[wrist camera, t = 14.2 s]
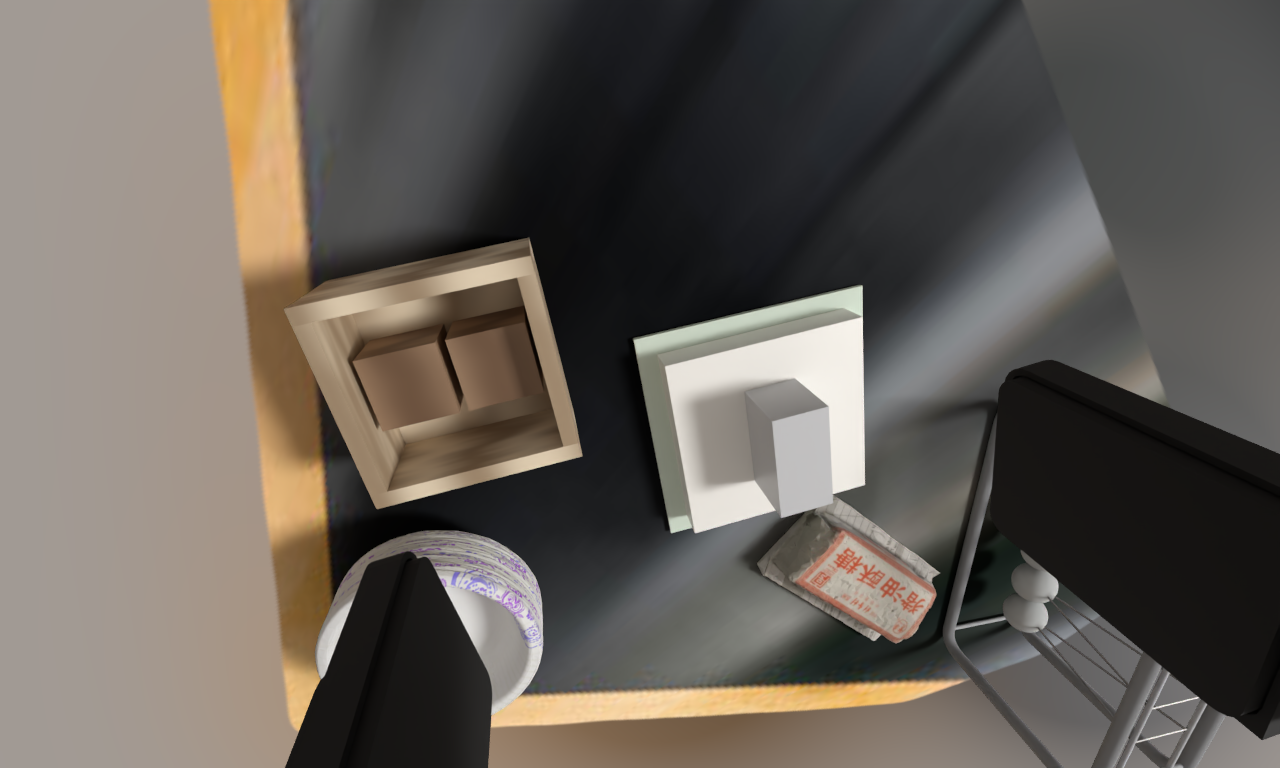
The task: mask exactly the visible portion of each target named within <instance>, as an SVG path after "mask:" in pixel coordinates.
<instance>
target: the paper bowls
mask: <svg viewBox="0 0 1280 768" xmlns="http://www.w3.org/2000/svg"><path fill="white" fill-rule="evenodd" d="M406 551H411V552H413V553H414V554H415V555H416V557H417V558H421V557H427V558H428V559H429V560H430V561H431V563H432V565H433V567H434V568H435V570H436V572H437V574H438V576H439V578H440V580H441V582H442V584H443V586H444V588H445V590H446V592H447V594H448V596H449V597H450V599H451V601H452V603H453V605H454V607H455V609H456V611H457V613H458V615H459V617H460V619H461V621H462V623H463V625H464V626H465V628H466V630H467V632H468V634H469V636H470V638H471V640H472V642H473V644H474V646H475V648H476V650H477V652H478V654H479V656H480V657H481V659H482V661H483V663H484V665H485V667H486V669H487V671H488V674H489V676H490V680H491V685H492V712H491V715H493V714H495V713H496V712H498V711H500V710H501V709H503V708H504V707H506V706H507V705H509V704H510V703H511V702H513V701H514V700H515V699H516V698H517V697H518V696H519V695H520V694H521V693H522V692H523V691H524V690H525V689H526V687H527V686H528V685H529V683H530V682H531V680H532V679H533V677H534V675H535V673H536V671H537V669H538V666H539V663H540V660H541V656H542V651H543V634H542V633H543V615H542V601H541V593H540V589H539V586H538V583H537V580H536V578H535V576H534V574H533V573H532V572H531V570H530V569H529V567H528V566H527V565H526V563H525V562H524V561H523V560H522V559H521V558H520V557H519V556H518V555H516V554H515V553H513V552H512V551H511V550H509V549H508V548H507V547H505V546H503V545H501V544H499V543H498V542H496V541H494V540H491V539H489V538H486V537H483V536H479V535H476V534H471V533H467V532H461V531H440V530H436V531H421V532H415V533H411V534H407V535H405V536H400V537H397V538H394V539H392V540H389V541H387V542H385V543H383V544H381V545H379V546H377V547H375V548H373V549H372V550H371V551H369V552H368V553H366V554H365V555H364V556H363V557H361V558H360V559H359V560H358V561H357V562H356V563H355V564H354V565H353V566H352V568H351V569H350V570H349V571H348V573H347V574H346V576H345V577H344V579H343V581H342V583H341V584H340V587H339V588H338V590H337V593H336V595H335V598H334V601H333V603H332V605H331V607H330V609H329V612H328V614H327V617H326V619H325V621H324V623H323V625H322V628H321V630H320V634H319V636H318V640H317V644H316V649H315V659H316V665H317V671H318V673H319V677H320V679H322V678H323V677H324V676H325V673H326V671H327V668H328V665H329V663H330V660H331V658H332V655H333V652H334V650H335V647H336V644H337V642H338V639H339V637H340V634H341V631H342V629H343V626H344V623H345V621H346V618H347V616H348V613H349V610H350V608H351V605H352V602H353V600H354V597H355V595H356V592H357V589H358V587H359V584H360V581H361V579H362V576H363V574H364V571H365V569H366V567H367V565H368V564H369V563H371V562H373V561H376V560H379V559H383V558H386V557H390V556H393V555H396V554H400V553H403V552H406Z"/></svg>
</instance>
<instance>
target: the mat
mask: <svg viewBox="0 0 1280 768" xmlns="http://www.w3.org/2000/svg"><path fill="white" fill-rule="evenodd" d="M843 308H845V309H847V310H849V311H851V312H853V313H855V314H858V315H860V316H862V317H863V301H862V285H856V286H852V287H847V288H843V289H839V290H835V291H831V292H826V293H822V294H818V295H814V296H809V297H805V298H801V299H797V300H792V301H788V302H784V303H780V304H776V305H771V306H767V307H763V308H759V309H754V310H750V311H746V312H742V313H737V314H733V315H729V316H725V317H721V318H716V319H712V320H708V321H704V322H699V323H695V324H691V325H687V326H683V327H678V328H674V329H670V330H666V331H661V332H657V333H653V334H649V335H644V336H640V337H636V338H633V341H634V346H635V352H636V357H637V362H638V367H639V372H640V377H641V383H642V388H643V393H644V398H645V403H646V408H647V414H648V419H649V424H650V429H651V434H652V439H653V445H654V450H655V455H656V460H657V465H658V470H659V476H660V481H661V486H662V491H663V496H664V501H665V507H666V512H667V517H668V522H669V527H670V531H671V533H674V532H678V531H681V530H685V529H689V528H692V526H691V524H690V521H689V519H688V517H687V514H686V509H685V503H684V498H683V492H682V487H681V482H680V476H679V471H678V465H677V460H676V455H675V449H674V444H673V438H672V433H671V427H670V422H669V417H668V411H667V406H666V400H665V395H664V390H663V384H662V379H661V373H660V368H659V362H658V357H657V355H658V354H662V353H666V352H670V351H674V350H678V349H682V348H686V347H690V346H694V345H698V344H702V343H706V342H710V341H714V340H718V339H722V338H726V337H730V336H734V335H738V334H742V333H746V332H750V331H754V330H758V329H762V328H766V327H770V326H774V325H778V324H782V323H787V322H791V321H795V320H799V319H803V318H807V317H811V316H815V315H819V314H823V313H827V312H831V311H835V310H839V309H843Z"/></svg>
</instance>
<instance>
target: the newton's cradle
mask: <svg viewBox="0 0 1280 768" xmlns="http://www.w3.org/2000/svg"><path fill="white" fill-rule="evenodd" d="M996 424H997V414H996V416H995V419H994V422H993V426H992V430H991V434H990V438H989V442H988V446H987V450H986V454H985V458H984V463H983V467H982V471H981V475H980V479H979V483H978V487H977V491H976V495H975V499H974V503H973V507H972V511H971V515H970V519H969V524H968V528H967V532H966V536H965V540H964V544H963V548H962V552H961V556H960V560H959V564H958V568H957V572H956V576H955V580H954V585H953V589H952V593H951V597H950V601H949V605H948V609H947V613H946V617H945V621H944V625H943V639H944V642H945V645H946V647H947V649H948V651H949V653H950V654H951V655H952V657H953V658H954V659H955V660H956V662H957V663H958V664H959V665H960V666H961V667H962V669H963V670H964V671H965V672H966V673H967V675H968V676H969V677H970V678H971V679H972V680H973V682H974V683H975V684H976V685H977V686H978V687H979V688H980V690H981V691H982V692H983V693H984V694H985V696H986V697H987V698H988V699H989V700H990V701H991V703H992V704H993V705H994V706H995V707H996V709H997V710H998V711H999V712H1000V713H1001V714H1002V716H1003V717H1004V718H1005V719H1006V720H1007V721H1008V723H1009V724H1010V725H1011V726H1012V727H1013V729H1014V730H1015V731H1016V732H1017V733H1018V734H1019V736H1020V737H1021V738H1022V739H1023V740H1024V741H1025V743H1026V744H1027V745H1028V746H1029V747H1030V748H1031V750H1032V751H1033V752H1034V753H1035V754H1036V755H1037V757H1038V758H1039V759H1040V760H1041V761H1042V763H1043V764H1044V765H1045V766H1046V767H1047V768H1064V767H1063V766H1062V765H1061V764H1060V763H1059V762H1058V761H1057V759H1056V758H1055V757H1054V756H1053V755H1052V754H1051V752H1050V751H1049V750H1048V749H1047V748H1046V747H1045V746H1044V745H1043V744H1042V742H1041V741H1040V740H1039V739H1038V738H1037V737H1036V735H1035V734H1034V733H1033V732H1032V731H1031V730H1030V729H1029V727H1028V726H1027V725H1026V724H1025V723H1024V722H1023V721H1022V720H1021V718H1020V717H1019V716H1018V715H1017V714H1016V713H1015V712H1014V710H1013V709H1012V708H1011V707H1010V706H1009V705H1008V704H1007V702H1006V701H1005V700H1004V699H1003V698H1002V697H1001V696H1000V694H998V692H997V691H996V690H995V689H994V688H993V687H992V686H991V684H990V683H989V682H988V681H987V680H986V679H985V677H984V676H983V675H982V674H981V673H980V672H979V671H978V669H977V668H976V667H975V666H974V665H973V664H972V663H971V661H970V660H969V659H968V658H967V657H966V656H965V655H964V654H963V652H962V651H961V650H960V648H959V647H958V645H957V643H956V640H955V635H954V633H955V630H957V629H962V628H967V627H972V626H977V625H982V624H987V623H992V622H997V621H1001V620H1007V621H1008V622H1009V623H1010V624H1011V625H1012V626H1013V627H1014V628H1016V629H1018V630H1020V631H1021V632H1022V634H1023V636H1024V637H1025V638H1026V639H1027V640H1028V642H1029V643H1030V644H1031V645H1033V646H1034V647H1035V648H1036V649H1037V650H1038V651H1039V652H1040V653H1041V654H1042V655H1043V656H1044V657H1045V658H1046V659H1047V660H1048V661H1049V662H1050V663H1051V664H1052V665H1053V666H1054V667H1055V668H1056V669H1057V670H1058V671H1059V672H1061V673H1062V675H1064V676H1065V677H1066V678H1067V679H1068V680H1069V681H1070V682H1071V683H1072V684H1073V685H1074V686H1075V687H1076V688H1077V689H1078V690H1079V691H1080V692H1081V693H1082V694H1083V695H1084V696H1085V697H1086V698H1087V699H1088V700H1089V701H1090V702H1092V703H1093V705H1095V706H1096V707H1097V708H1098V709H1099V710H1100V711H1101V712H1102V713H1103V714H1104V715H1105V716H1106V717H1107V718H1108V719H1109V720H1110V721H1111V722H1112V723H1111V725H1110V727H1109V729H1108V731H1107V734H1106V736H1105V738H1104V740H1103V743H1102V745H1101V747H1100V749H1099V752H1098V754H1097V756H1096V758H1095V760H1094V763H1093V765H1092V767H1091V768H1114V766H1115V764H1116V762H1117V760H1118V758H1119V756H1120V753H1121V751H1122V749H1123V747H1124V745H1125V743H1126V741H1127V739H1128V738H1129V741H1128V743H1127V745H1126V747H1125V749H1124V752H1123V754H1122V756H1121V758H1120V760H1119V762H1118V764H1117V766H1116V768H1124V766H1125V764H1126V762H1127V760H1128V758H1129V756H1130V753H1131V752H1132V749H1133V748H1134V746H1135V745H1136V746H1137V747H1138V748H1139V749H1140V750H1141V751H1142V752H1143V753H1144V754H1145V755H1146V756H1147V757H1148V758H1149V759H1150V760H1151V761H1152V762H1154V763H1155V764H1156V765H1157V766H1159V767H1160V768H1196V767H1197V765H1198V764H1199V762H1200V760H1201V758H1202V757H1203V755H1204V753H1205V751H1206V750H1207V748H1208V746H1209V744H1210V743H1211V741H1212V739H1213V737H1214V736H1215V734H1216V732H1217V730H1218V728H1219V727H1220V725H1221V723H1222V721H1223V720H1224V718H1225V716H1226V715H1224V714H1222V713H1220V712H1218V711H1216V710H1215V709H1213V708H1212V707H1210V706H1209V705H1208V704H1206V703H1205V702H1204V701H1203V700H1200V702H1199V704H1198V706H1197V708H1196V710H1195V712H1194V714H1193V716H1192V718H1191V719H1190V721H1189V723H1188V725H1187V727H1186V728H1185V727H1183V726H1181V725H1180V724H1179V723H1178V722H1176V721H1175V720H1173V719H1172V718H1171V717H1169V716H1168V715H1167V714H1165V713H1164V712H1162V711H1161V710H1160V709H1158V708H1160V707H1164V706H1168V705H1172V704H1176V703H1180V702H1184V701H1189V700H1193V699H1197V698H1199V697H1194V698H1190V699H1186V700H1182V701H1178V702H1174V703H1170V704H1166V705H1162V706H1158V707H1156V706H1154V704H1155V702H1156V700H1157V698H1158V696H1159V694H1160V692H1161V690H1162V688H1163V686H1164V684H1165V682H1166V680H1167V678H1168V676H1169V675H1170V676H1172V677H1173V678H1175V677H1174V676H1173V675H1171V674H1170V673H1169V672H1168V671H1167V670H1165V669H1164V668H1163V667H1162V666H1161V665H1159V664H1158V663H1157V662H1156V661H1155V660H1153V659H1152V658H1151V657H1150V656H1148V655H1147V654H1146V653H1145V652H1144V651H1143V654H1141V653H1140V652H1138V651H1137V650H1135V649H1134V648H1132V647H1131V646H1129V645H1128V644H1126V643H1125V642H1123V641H1122V640H1120V639H1119V638H1117V637H1115V636H1114V635H1113V634H1111V633H1110V632H1108V631H1107V630H1105V629H1104V628H1102V627H1101V626H1099V625H1098V624H1096V623H1095V622H1093V621H1092V620H1090V619H1089V618H1088V617H1086V616H1085V615H1083V614H1082V613H1080V612H1079V611H1077V610H1076V609H1074V608H1073V607H1071V606H1070V605H1068V604H1067V603H1065V602H1064V601H1062V600H1061V599H1059V598H1058V597H1056V594H1057V592H1058V582H1057V579H1056V578H1054V577H1053V576H1052V575H1051V574H1050V573H1048V572H1047V571H1046V570H1045V569H1044V568H1042V567H1041V566H1040V565H1039V564H1038V563H1036V562H1035V561H1034V560H1033V559H1032V558H1030V557H1029V556H1028V555H1027V554H1026V553H1024V552H1023V551H1022V550H1021V554H1022V556H1023V558H1024V559H1025V561H1026V562H1027V563H1024V564H1021V565H1019V566H1018V567H1016V568H1015V570H1014V571H1013V573H1012V577H1011V580H1012V585H1013V588H1014V589H1015V591H1016V592H1017V593H1014V594H1011V595H1009V596H1008V597H1007V598H1006V599H1005V601H1004V603H1003V613H1004V616H1001V617H996V618H991V619H986V620H981V621H976V622H971V623H966V624H961V625H956V624H957V620H958V616H959V613H960V609H961V605H962V601H963V597H964V593H965V589H966V585H967V582H968V578H969V574H970V570H971V566H972V562H973V558H974V555H975V551H976V547H977V543H978V539H979V535H980V531H981V527H982V524H983V520H984V516H985V512H986V508H987V504H988V500H989V496H990V493H991V489H992V479H993V465H994V452H995V438H996ZM1054 598H1056V599H1058V600H1059V601H1061V602H1062V603H1064V604H1065V605H1067V606H1068V607H1070V608H1071V609H1073V610H1074V611H1076V612H1077V613H1078V614H1080V615H1081V616H1083V617H1084V618H1086V619H1087V620H1089V621H1090V622H1092V623H1093V624H1095V625H1096V626H1098V627H1100V628H1101V629H1102V630H1104V631H1105V632H1107V633H1108V634H1110V635H1111V636H1113V637H1114V638H1116V639H1117V640H1119V641H1120V642H1122V643H1123V644H1124V645H1126V646H1127V647H1129V648H1131V649H1132V650H1133V651H1135V652H1136V653H1138V654H1140V655H1141V658H1140V660H1139V662H1138V665H1137V667H1136V669H1135V672H1134V674H1133V676H1132V678H1131V680H1130V683H1129V684H1128V683H1127V682H1126V681H1125V679H1124V678H1123V677H1122V676H1121V675H1120V674H1119V673H1118V672H1117V671H1116V670H1115V669H1114V667H1113V666H1112V665H1111V664H1110V663H1109V662H1108V661H1107V660H1106V659H1105V658H1104V657H1103V655H1102V654H1101V653H1100V652H1099V651H1098V650H1097V649H1096V648H1095V647H1094V646H1093V645H1092V644H1091V642H1089V640H1088V639H1087V638H1086V637H1085V636H1084V635H1083V634H1082V633H1081V632H1080V630H1079V629H1078V628H1077V627H1076V626H1075V625H1074V624H1073V623H1072V622H1071V621H1070V620H1069V618H1068V617H1067V616H1066V615H1065V614H1064V613H1063V612H1062V611H1061V610H1060V609H1059V608H1058V606H1057V605H1056V604H1055V603H1054V602H1053V601H1052V600H1053V599H1054ZM1048 601H1051V602H1052V604H1053V605H1054V606H1055V607H1056V608H1057V609H1058V610H1059V611H1060V612H1061V613H1062V615H1063V616H1064V617H1065V618H1066V619H1067V620H1068V621H1069V622H1070V623H1071V624H1072V625H1073V627H1074V628H1075V629H1076V630H1077V631H1078V632H1079V633H1080V634H1081V635H1082V636H1083V637H1084V638H1085V640H1086V641H1087V642H1088V643H1089V644H1090V645H1091V646H1092V647H1093V648H1094V650H1095V651H1096V652H1097V653H1098V654H1099V655H1100V656H1101V657H1102V658H1103V659H1104V660H1105V662H1106V663H1107V664H1108V665H1109V666H1110V667H1111V668H1112V669H1113V670H1114V671H1115V673H1116V674H1117V675H1118V676H1119V677H1120V678H1121V679H1122V680H1123V681H1124V682H1125V684H1126V685H1125V684H1124V683H1123V682H1121V681H1120V680H1118V679H1117V678H1116V677H1114V676H1113V675H1112V674H1110V673H1109V672H1107V671H1106V670H1105V669H1103V668H1102V667H1101V666H1099V665H1098V664H1096V663H1095V662H1094V661H1092V660H1091V659H1090V658H1088V657H1087V656H1085V655H1084V654H1083V653H1081V652H1080V651H1078V650H1077V649H1076V648H1074V647H1073V646H1072V645H1070V644H1069V643H1067V642H1066V641H1065V640H1063V639H1062V638H1061V637H1059V636H1058V635H1057V634H1055V633H1054V632H1052V631H1051V630H1050V629H1048V628H1047V627H1045V626H1046V624H1047V621H1048V613H1047V610H1046V607H1045V606H1044V604H1043V603H1046V602H1048ZM1044 628H1046V629H1047V630H1048V631H1050V632H1051V633H1052V634H1054V635H1055V636H1057V637H1058V638H1059V639H1061V640H1062V641H1063V642H1065V643H1066V644H1068V645H1069V646H1070V647H1072V648H1073V649H1074V650H1076V651H1077V652H1079V653H1080V654H1081V655H1083V656H1084V657H1086V658H1087V659H1088V660H1090V661H1091V662H1092V663H1094V664H1095V665H1096V666H1098V667H1099V668H1100V669H1102V670H1103V671H1105V672H1106V673H1107V674H1109V675H1110V676H1111V677H1113V678H1114V679H1115V680H1117V681H1118V682H1120V683H1121V684H1122V685H1124V686H1125V687H1126V688H1127V689H1126V691H1125V694H1124V696H1123V698H1122V700H1121V703H1120V705H1119V707H1118V709H1117V710H1116V709H1115V708H1114V707H1113V706H1112V705H1110V704H1109V703H1108V702H1107V701H1106V700H1105V699H1104V698H1103V697H1102V696H1101V695H1100V694H1099V693H1098V692H1097V691H1096V690H1095V689H1093V688H1092V687H1091V686H1090V685H1089V684H1088V683H1087V682H1086V681H1085V680H1084V679H1083V678H1082V677H1081V676H1080V675H1078V673H1077V672H1076V671H1075V670H1074V669H1073V667H1072V666H1071V665H1070V664H1069V663H1068V661H1067V660H1066V659H1065V658H1064V657H1063V656H1062V654H1061V653H1060V652H1059V651H1058V650H1057V648H1056V647H1055V646H1054V645H1053V644H1052V642H1051V641H1050V640H1049V639H1048V638H1047V637H1046V635H1045V634H1044V633H1043V632H1042V631H1041V630H1043V629H1044ZM1038 631H1040V632H1041V633H1042V634H1043V636H1044V637H1045V638H1046V639H1047V640H1048V642H1049V643H1050V644H1051V645H1052V646H1053V648H1055V650H1056V651H1057V652H1058V653H1059V655H1060V656H1061V657H1062V658H1063V659H1064V660H1063V659H1061V658H1060V657H1059V656H1058V655H1057V654H1056V653H1055V652H1054V651H1053V650H1052V649H1051V648H1050V647H1049V646H1048V645H1047V644H1046V643H1045V642H1043V641H1042V640H1041V639H1040V638H1039V637H1038V636H1037V635H1036V634H1035V633H1034V632H1038ZM1160 669H1162V672H1161V674H1160V676H1159V678H1158V680H1157V682H1156V684H1155V687H1154V689H1153V691H1152V693H1151V695H1150V697H1149V699H1148V701H1147V700H1146V698H1147V697H1148V694H1149V692H1150V690H1151V688H1152V686H1153V684H1154V682H1155V680H1156V678H1157V675H1158V673H1159V671H1160ZM1175 679H1176V678H1175ZM1176 680H1177V679H1176ZM1178 681H1179V680H1178ZM1179 682H1180V681H1179ZM1145 701H1146V702H1147V703H1146V702H1145ZM1144 704H1145V708H1144V710H1143V712H1142V714H1141V716H1140V718H1139V720H1138V722H1137V724H1136V726H1135V727H1134V724H1135V722H1136V720H1137V718H1138V716H1139V713H1140V711H1141V709H1142V707H1143V705H1144ZM1153 707H1154V708H1153ZM1152 709H1156V710H1158V711H1159V712H1161V713H1162V714H1163V715H1165V716H1166V717H1167V718H1169V719H1170V720H1172V721H1173V722H1174V723H1176V724H1177V725H1178V726H1180V727H1181V728H1183V729H1182V730H1178V731H1175V732H1170V733H1167V734H1163V735H1159V736H1155V737H1151V738H1146V737H1145V736H1143V735H1142V734H1141V731H1142V729H1143V727H1144V725H1145V723H1146V721H1147V719H1148V717H1149V715H1150V713H1151V711H1152ZM1184 730H1185V731H1184ZM1180 731H1184V732H1183V734H1182V736H1181V738H1180V740H1179V742H1178V744H1177V746H1176V748H1175V749H1174V751H1173V753H1172V755H1171V757H1170V758H1168V757H1166V756H1165V755H1164V754H1163V753H1162V752H1160V751H1159V750H1158V749H1157V748H1156V747H1155V746H1154V745H1153V744H1152V743H1151V742H1150V741H1149V739H1153V738H1157V737H1161V736H1165V735H1169V734H1173V733H1176V732H1180Z"/></svg>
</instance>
